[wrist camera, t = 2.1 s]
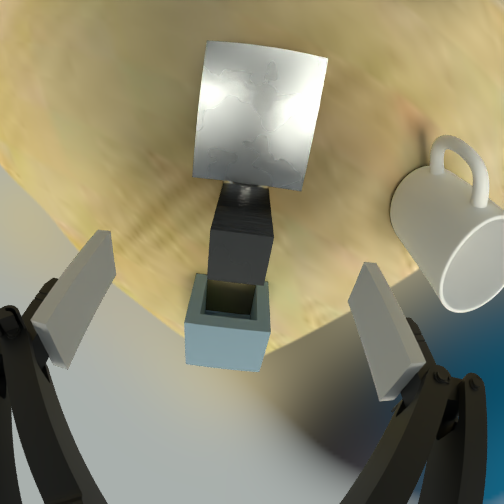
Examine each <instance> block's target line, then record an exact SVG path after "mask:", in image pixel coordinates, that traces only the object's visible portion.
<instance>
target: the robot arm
mask: <svg viewBox="0 0 504 504" xmlns="http://www.w3.org/2000/svg"><path fill="white" fill-rule="evenodd" d="M115 276H116V269H115V263H114V256H113V248H112V240H111V231H105V230H97V231H96V232H95V234H94V235H93V236H92V237H91V238H90V240H89V241H88V242H87V243H86V244H85V246H84V247H83V248H82V249H81V251H80V252H79V253H78V254H77V256H76V257H75V258H74V259H73V261H72V262H71V263H70V265H69V266H68V267H67V269H66V270H65V271H64V272H63V274H62V275H61V277H60V278H59V279H57V278H52V279H51V280H50V281H48V282H47V283H45V284H44V286H43V287H42V288H41V290H40V291H39V293H38V294H37V295H36V297H35V299H34V300H33V301H32V302H31V304H30V305H29V307H28V308H27V310H26V311H25V312H24V314H23V315H22V317H21V315H20V312H19V310H18V308H16V307H15V306H12V305H8V306H4V307H2V308H0V504H22V501H21V496H20V491H19V486H18V480H17V474H16V467H15V459H14V449H13V437H12V417H11V407H12V411H13V416H14V420H15V423H16V427H17V430H18V434H19V437H20V441H21V444H22V447H23V450H24V453H25V456H26V459H27V462H28V465H29V467H30V470H31V472H32V475H33V477H34V480H35V482H36V485H37V487H38V489H39V492H40V494H41V496H42V498H43V501H44V504H107V502H106V500H105V498H104V497H103V495H102V493H101V492H100V490H99V488H98V486H97V485H96V483H95V481H94V479H93V478H92V476H91V474H90V472H89V470H88V468H87V466H86V464H85V462H84V460H83V458H82V456H81V454H80V452H79V450H78V448H77V445H76V443H75V441H74V439H73V436H72V434H71V432H70V429H69V427H68V424H67V422H66V419H65V417H64V414H63V411H62V409H61V406H60V403H59V400H58V398H57V395H56V392H55V389H54V385H53V382H52V379H51V376H50V372H49V369H48V366H47V365H46V362H47V360H48V357H49V358H50V359H51V361H52V363H53V365H55V366H58V367H61V368H65V369H67V370H68V368H69V366H70V364H71V361H72V359H73V357H74V355H75V353H76V351H77V348H78V346H79V344H80V342H81V340H82V338H83V336H84V334H85V332H86V330H87V328H88V326H89V324H90V322H91V320H92V318H93V316H94V314H95V312H96V310H97V309H98V307H99V305H100V303H101V301H102V299H103V297H104V296H105V294H106V292H107V290H108V288H109V286H110V285H111V283H112V281H113V279H114V278H115ZM348 303H349V306H350V309H351V312H352V315H353V318H354V320H355V323H356V326H357V329H358V332H359V335H360V338H361V341H362V345H363V348H364V351H365V354H366V357H367V360H368V364H369V367H370V370H371V373H372V377H373V380H374V384H375V387H376V390H377V394H378V398H379V401H387V400H394V399H395V398H396V397H397V396H398V395H399V393H400V392H401V395H402V398H403V399H402V400H401V401H400V402H399V403H398V404H397V405H396V406H395V407H394V408H393V409H392V411H391V412H393V411H395V412H394V415H393V416H392V419H391V420H390V422H389V424H388V426H387V428H386V430H385V432H384V434H383V436H382V438H381V439H380V441H379V443H378V445H377V447H376V448H375V450H374V452H373V454H372V455H371V457H370V459H369V461H368V462H367V464H366V465H365V467H364V469H363V470H362V472H361V473H360V475H359V476H358V478H357V479H356V481H355V482H354V484H353V486H352V487H351V488H350V490H349V491H348V493H347V494H346V496H345V497H344V499H343V500H342V501H341V503H340V504H407V502H408V500H409V498H410V496H411V494H412V492H413V490H414V488H415V486H416V484H417V482H418V480H419V477H420V475H421V473H422V470H423V468H424V466H425V464H426V461H427V464H426V469H425V474H424V479H423V484H422V489H421V493H420V498H419V502H418V504H482V503H483V496H484V487H485V477H486V462H487V411H486V395H485V386H484V382H483V381H482V379H481V378H480V377H479V376H478V375H476V374H475V373H468V374H467V375H466V376H465V377H464V378H463V379H458V378H453V377H451V375H450V374H449V372H448V370H446V369H445V368H444V367H442V366H440V365H436V363H435V361H434V359H433V356H432V354H431V352H430V350H429V348H428V346H427V344H426V342H425V340H424V338H423V336H422V335H421V331H420V329H419V327H418V325H417V324H416V323H415V322H414V321H413V320H412V319H411V318H405V316H404V314H403V312H402V310H401V308H400V306H399V304H398V302H397V300H396V298H395V296H394V294H393V292H392V291H391V289H390V287H389V285H388V283H387V281H386V279H385V278H384V276H383V274H382V272H381V270H380V269H379V267H378V265H377V263H370V262H364V264H363V266H362V269H361V271H360V273H359V276H358V278H357V281H356V283H355V286H354V288H353V290H352V293H351V295H350V297H349V300H348ZM458 416H459V417H458Z"/></svg>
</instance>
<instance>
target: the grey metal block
mask: <svg viewBox="0 0 504 504" xmlns="http://www.w3.org/2000/svg"><path fill="white" fill-rule="evenodd" d="M327 62H328V58H324V57H320V56H315V55H311V54H306V53H301V52H296V51H291V50H286V49H280V48H274V47H267V46H260V45H252V44H244V43H234V42H221V41H207V44H206V51H205V58H204V65H203V73H202V81H201V89H200V98H199V107H198V116H197V127H196V138H195V149H194V162H193V176H192V177H197V178H206V179H216V180H224V181H233V182H241V183H248V184H256V185H263V186H270V187H277V188H284V189H290V190H296V191H301V190H302V186H303V181H304V177H305V172H306V168H307V163H308V159H309V154H310V149H311V144H312V140H313V135H314V130H315V125H316V120H317V115H318V110H319V105H320V100H321V95H322V89H323V84H324V79H325V73H326V68H327Z"/></svg>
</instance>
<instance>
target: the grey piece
mask: <svg viewBox="0 0 504 504" xmlns="http://www.w3.org/2000/svg"><path fill="white" fill-rule="evenodd" d="M273 239H274V234H273V225H272V216H271V207H270V198H269V189H268V186H263V185H256V184H248V183H241V182H233V181H224V180H223V186H222V189H221V193H220V197H219V200H218V204H217V207H216V211H215V215H214V219H213V222H212V226H211V230H210V243H209V257H208V272H207V279H209V280H217V281H225V282H234V283H242V284H251V285H260V286H264V282H265V277H266V272H267V268H268V263H269V258H270V254H271V249H272V244H273Z"/></svg>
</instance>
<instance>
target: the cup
mask: <svg viewBox="0 0 504 504" xmlns="http://www.w3.org/2000/svg"><path fill="white" fill-rule="evenodd" d="M446 149H450V150H452V151H454V152H456V153H457V154H459V155H460V156H461V157H462V158H463V159H464V160H465V161H466V162H467V164H468V165H469V167H470V169H471V171H472V174H473V186H472V185H470V184H469V183H467V182H466V181H464V180H463V179H461V178H460V177H459V176H457V175H456V174H454V173H452V172H451V171H449V170H447V169H445V168H444V152H445V150H446ZM488 196H489V176H488V172H487V168H486V166H485V164H484V162H483V160H482V159H481V157H480V156H479V154H478V153H477V152H476V151H475V150H474V149H473V148H472V147H471V146H469V145H468V144H467V143H465V142H464V141H462V140H461V139H459V138H457V137H454V136H451V135H442V136H440V137H438V138H437V139H436V140H435V141H434V142H433V144H432V147H431V152H430V166H424V167H421V168H418V169H416V170H414V171H413V172H411V173H410V174H408V175H407V176H406V177H405V178H404V179H403V180H402V181H401V183H400V184H399V186H398V187H397V189H396V191H395V193H394V195H393V198H392V202H391V208H390V217H391V223H392V226H393V229H394V231H395V233H396V235H397V236H398V238H399V239H400V241H401V242H402V243H403V245H404V246H405V248H406V249H407V250H408V252H409V253H410V255H411V256H412V258H413V259H414V261H415V262H416V263H417V265H418V266H419V268H420V269H421V271H422V272H423V274H424V275H425V277H426V278H427V280H428V282H429V283H430V285H431V286H432V288H433V289H434V291H435V292H436V294H437V296H438V297H439V299H440V301H441V302H442V304H443V305H444V306H445V308H447V309H448V310H450V311H453V312H468V311H471V310H474V309H476V308H478V307H480V306H482V305H484V304H485V303H487V302H488V301H489V300H491V299H492V298H493V297H494V296H496V295H497V293H499V291H501V289H502V288H503V287H504V210H503V209H502V208H501V207H499V206H498V205H497V204H496V203H494V202H493V201H492V200H490V199H489V198H488Z"/></svg>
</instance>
